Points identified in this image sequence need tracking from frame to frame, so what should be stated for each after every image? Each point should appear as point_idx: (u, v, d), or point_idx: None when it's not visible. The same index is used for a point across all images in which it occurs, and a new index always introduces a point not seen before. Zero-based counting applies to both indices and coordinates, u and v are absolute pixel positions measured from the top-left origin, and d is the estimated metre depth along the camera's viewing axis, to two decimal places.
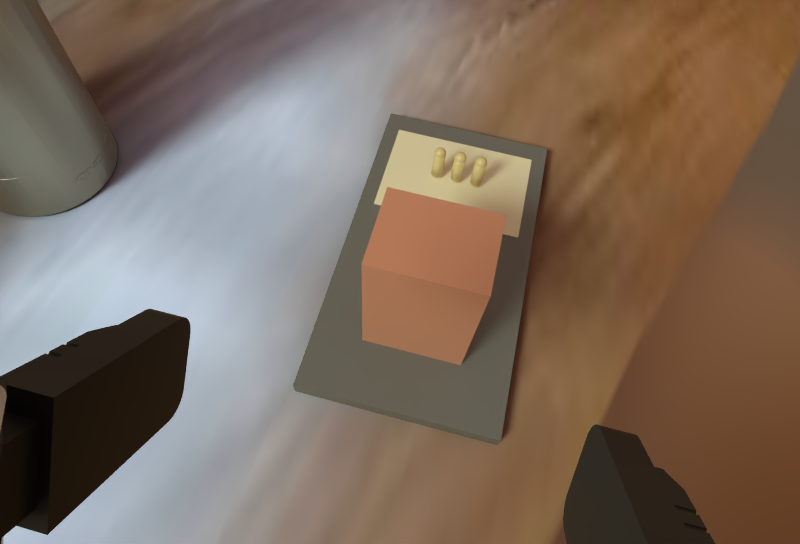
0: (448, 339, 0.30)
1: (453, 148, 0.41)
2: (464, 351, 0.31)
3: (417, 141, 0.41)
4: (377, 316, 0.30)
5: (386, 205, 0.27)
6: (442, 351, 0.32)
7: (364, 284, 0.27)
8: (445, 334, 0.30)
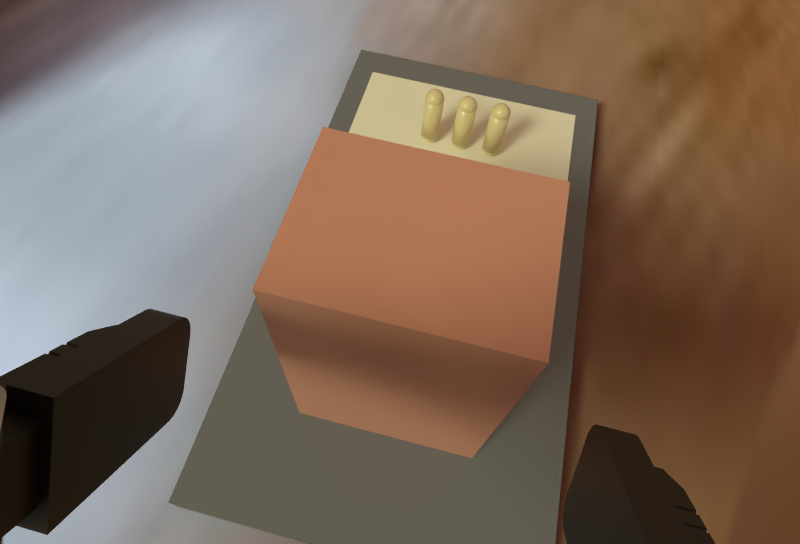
0: (450, 424, 0.16)
1: (455, 99, 0.27)
2: (479, 442, 0.17)
3: (400, 88, 0.27)
4: (315, 383, 0.16)
5: (319, 163, 0.13)
6: (439, 439, 0.17)
7: (273, 329, 0.13)
8: (444, 417, 0.15)
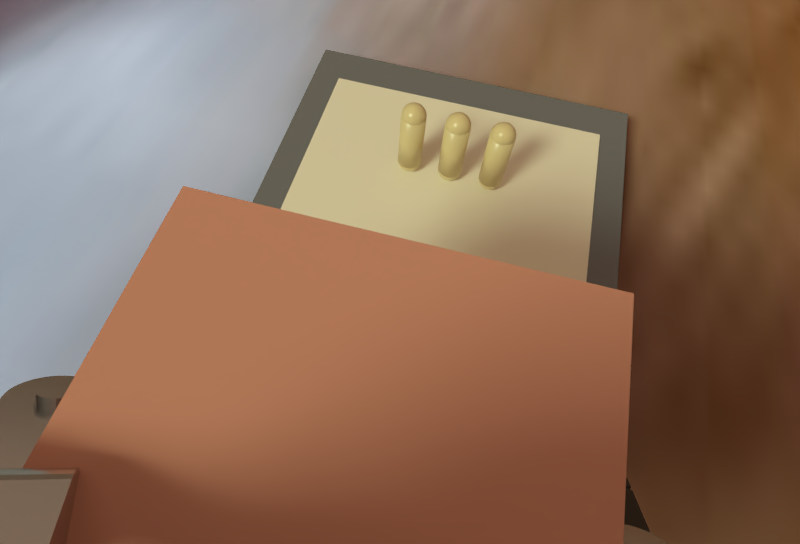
0: None
1: (444, 114, 0.21)
2: None
3: (374, 99, 0.21)
4: None
5: (163, 259, 0.07)
6: None
7: None
8: None
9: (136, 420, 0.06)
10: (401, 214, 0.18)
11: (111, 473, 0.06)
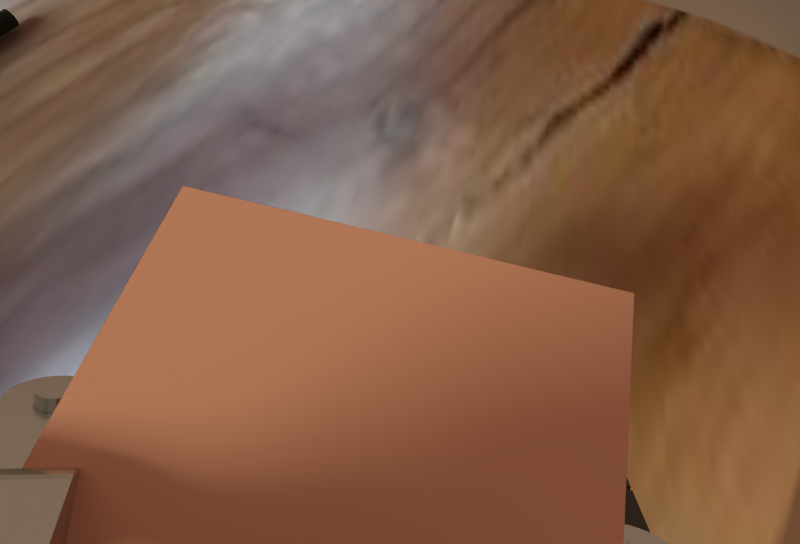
0: None
1: None
2: None
3: None
4: None
5: (163, 258, 0.07)
6: None
7: None
8: None
9: (135, 420, 0.06)
10: None
11: (110, 473, 0.06)
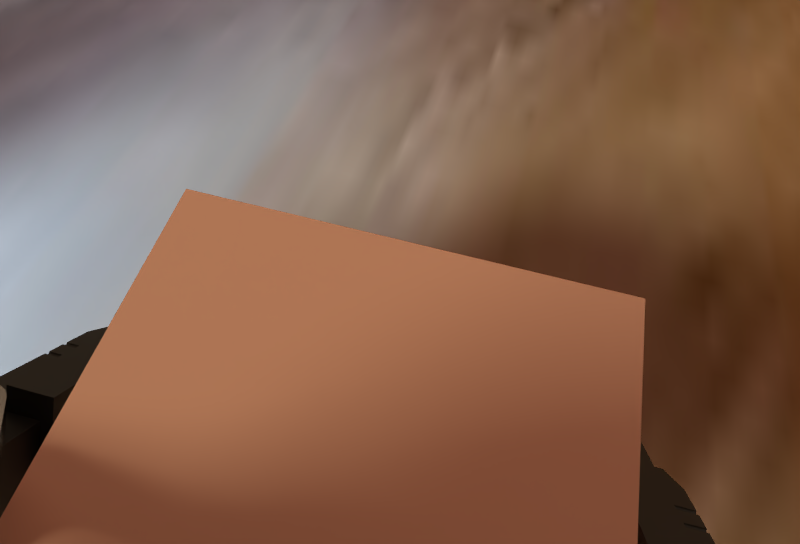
0: None
1: None
2: None
3: None
4: None
5: (166, 263, 0.07)
6: None
7: None
8: None
9: (139, 429, 0.06)
10: None
11: (114, 483, 0.06)
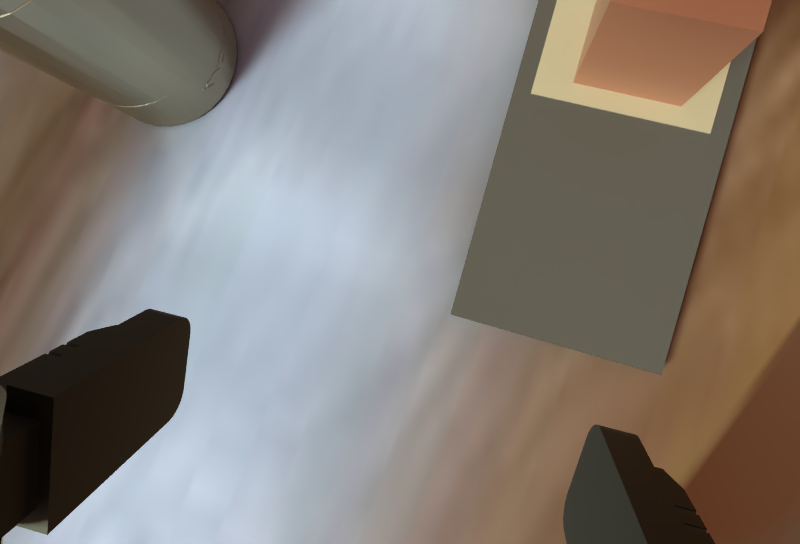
0: (680, 80, 0.28)
1: None
2: (693, 92, 0.29)
3: None
4: (603, 58, 0.28)
5: None
6: (665, 92, 0.30)
7: (603, 24, 0.25)
8: (679, 75, 0.27)
9: None
10: None
11: None
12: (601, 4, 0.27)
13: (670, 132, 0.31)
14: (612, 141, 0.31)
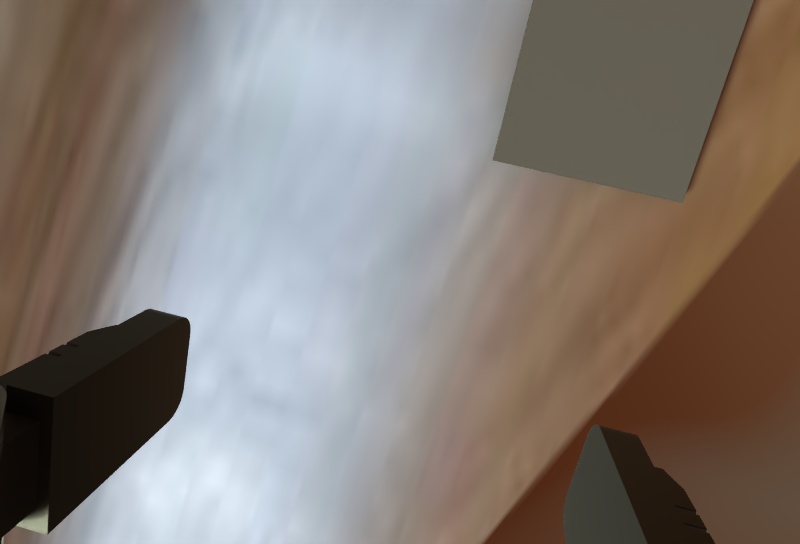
0: None
1: None
2: None
3: None
4: None
5: None
6: None
7: None
8: None
9: None
10: None
11: None
12: None
13: None
14: None
